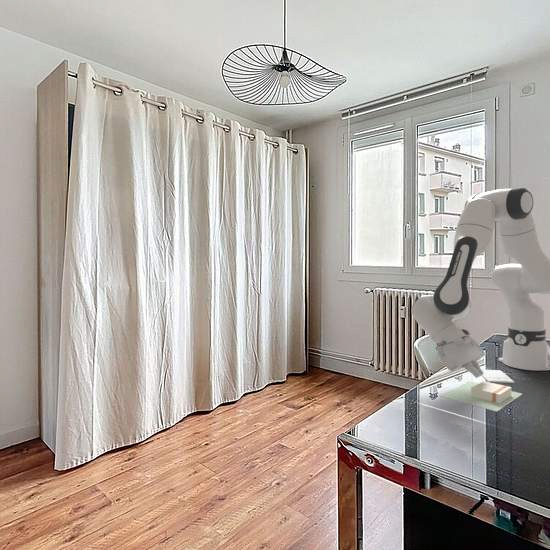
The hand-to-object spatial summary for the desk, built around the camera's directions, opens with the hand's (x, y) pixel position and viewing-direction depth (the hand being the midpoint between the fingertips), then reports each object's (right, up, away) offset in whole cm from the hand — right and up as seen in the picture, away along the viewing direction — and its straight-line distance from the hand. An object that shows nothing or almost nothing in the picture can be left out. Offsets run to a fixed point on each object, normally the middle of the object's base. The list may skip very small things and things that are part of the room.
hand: (480, 375), depth 121 cm
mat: (0, -6, -1) cm, 6 cm away
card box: (0, -4, +1) cm, 4 cm away
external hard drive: (+13, -6, +16) cm, 21 cm away
